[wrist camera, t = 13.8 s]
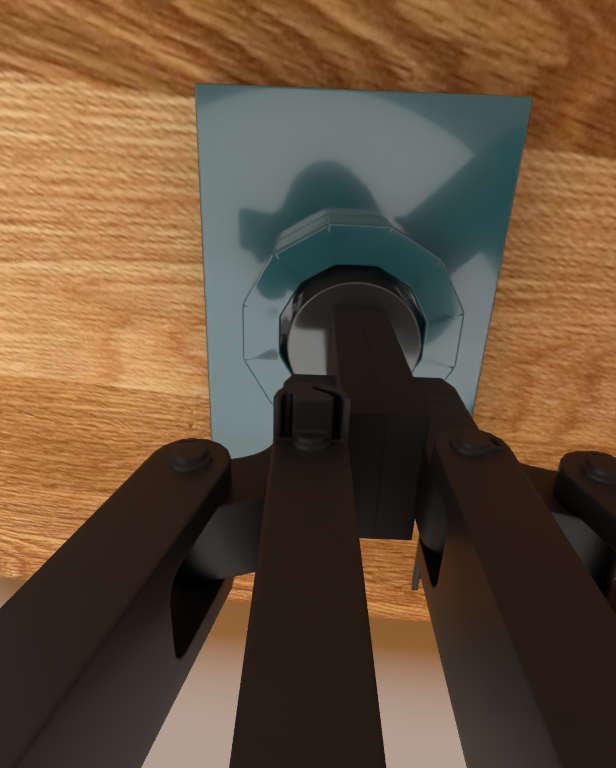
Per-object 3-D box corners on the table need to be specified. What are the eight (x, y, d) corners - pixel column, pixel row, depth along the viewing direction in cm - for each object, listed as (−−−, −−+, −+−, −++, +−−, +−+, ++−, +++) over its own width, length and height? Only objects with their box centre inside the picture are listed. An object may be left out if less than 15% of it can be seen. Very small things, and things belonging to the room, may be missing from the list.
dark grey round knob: (402, 382, 18) (412, 410, 16) (288, 378, 18) (285, 405, 16) (416, 269, 17) (429, 285, 15) (291, 264, 17) (288, 279, 15)
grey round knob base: (447, 461, 23) (472, 520, 19) (220, 452, 23) (203, 510, 19) (510, 101, 17) (563, 90, 14) (206, 88, 17) (178, 74, 14)
